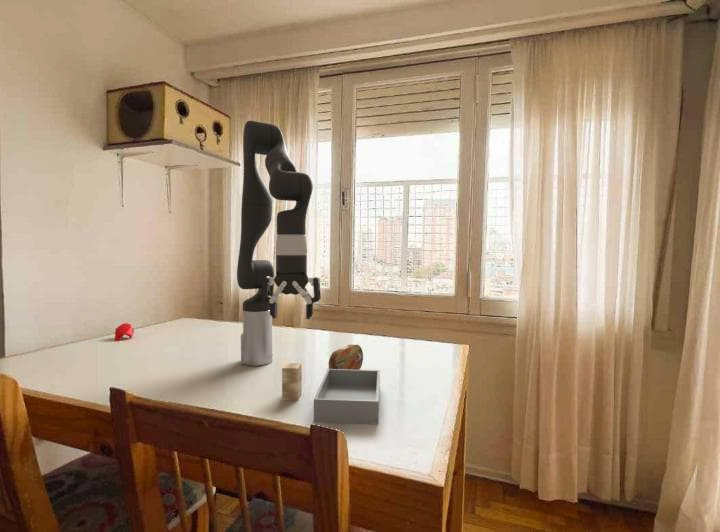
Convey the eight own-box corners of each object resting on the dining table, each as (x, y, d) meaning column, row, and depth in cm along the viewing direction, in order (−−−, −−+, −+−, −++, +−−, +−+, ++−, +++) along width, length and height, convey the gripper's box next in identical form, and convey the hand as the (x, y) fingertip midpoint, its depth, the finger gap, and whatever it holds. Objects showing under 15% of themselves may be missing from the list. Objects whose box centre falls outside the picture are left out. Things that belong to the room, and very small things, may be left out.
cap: (123, 328, 157) (112, 323, 152) (136, 323, 156) (125, 318, 151) (121, 346, 153) (109, 341, 148) (134, 341, 152) (122, 337, 147)
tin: (335, 384, 104) (335, 354, 104) (326, 381, 106) (326, 352, 105) (363, 369, 117) (364, 342, 116) (355, 367, 118) (355, 340, 118)
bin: (313, 421, 82) (313, 399, 81) (327, 387, 101) (327, 368, 101) (378, 424, 81) (378, 401, 80) (379, 388, 101) (379, 370, 100)
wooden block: (282, 399, 93) (281, 368, 93) (286, 393, 97) (286, 363, 97) (298, 400, 93) (297, 368, 92) (301, 393, 97) (301, 363, 96)
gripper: (258, 253, 90) (258, 320, 91) (317, 253, 89) (317, 321, 90) (267, 252, 97) (268, 315, 98) (322, 253, 96) (322, 316, 97)
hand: (291, 318), depth 94 cm, fingers open, 8 cm apart
